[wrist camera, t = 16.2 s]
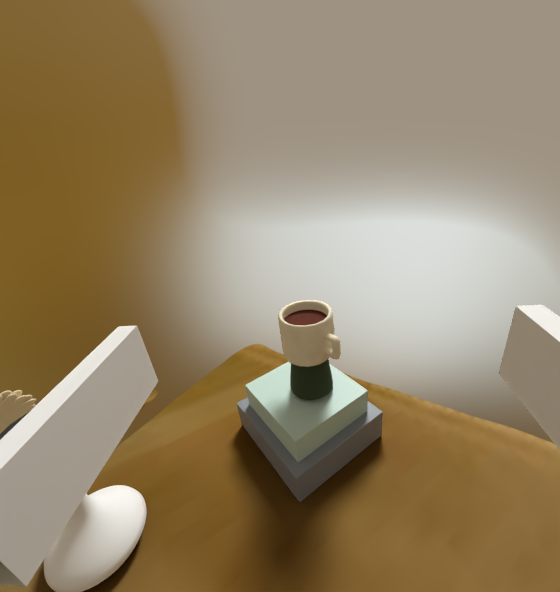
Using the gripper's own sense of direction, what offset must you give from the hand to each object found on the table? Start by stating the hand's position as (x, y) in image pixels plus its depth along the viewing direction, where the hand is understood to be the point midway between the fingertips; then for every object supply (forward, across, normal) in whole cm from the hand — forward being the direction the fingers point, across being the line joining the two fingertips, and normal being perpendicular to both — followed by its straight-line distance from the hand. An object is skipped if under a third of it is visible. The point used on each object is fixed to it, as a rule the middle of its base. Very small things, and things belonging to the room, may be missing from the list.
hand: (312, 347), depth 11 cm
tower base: (+25, -3, -35) cm, 43 cm away
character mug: (+25, -2, -26) cm, 36 cm away
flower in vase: (+8, -30, -35) cm, 47 cm away
